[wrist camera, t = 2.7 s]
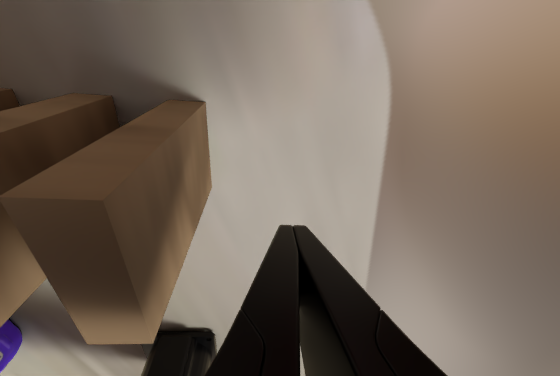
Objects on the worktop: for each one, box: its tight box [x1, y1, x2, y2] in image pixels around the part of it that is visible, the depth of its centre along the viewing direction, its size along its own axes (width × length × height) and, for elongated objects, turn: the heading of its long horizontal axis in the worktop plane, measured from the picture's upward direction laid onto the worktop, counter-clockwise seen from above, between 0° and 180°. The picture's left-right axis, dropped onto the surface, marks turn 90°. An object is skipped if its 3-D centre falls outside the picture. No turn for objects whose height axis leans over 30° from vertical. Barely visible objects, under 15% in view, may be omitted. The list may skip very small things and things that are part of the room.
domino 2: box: [0, 100, 212, 345], centre depth 10 cm, size 5×2×9 cm, turn 175°
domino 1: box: [0, 93, 120, 327], centre depth 9 cm, size 5×2×9 cm, turn 176°
